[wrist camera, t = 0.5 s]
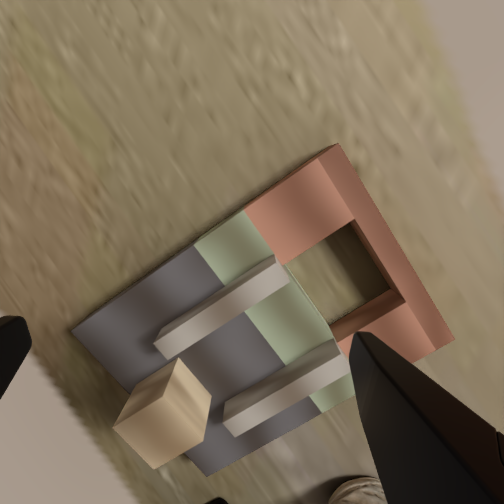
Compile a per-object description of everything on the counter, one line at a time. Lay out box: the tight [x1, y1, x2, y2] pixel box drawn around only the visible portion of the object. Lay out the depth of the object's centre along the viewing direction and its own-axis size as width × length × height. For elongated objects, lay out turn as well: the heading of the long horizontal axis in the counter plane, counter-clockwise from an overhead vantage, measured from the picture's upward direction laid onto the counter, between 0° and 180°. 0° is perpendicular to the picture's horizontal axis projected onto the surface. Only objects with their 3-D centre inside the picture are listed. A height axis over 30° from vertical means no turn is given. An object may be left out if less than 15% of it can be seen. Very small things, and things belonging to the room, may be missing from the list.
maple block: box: [113, 357, 212, 469], centre depth 21 cm, size 4×4×4 cm
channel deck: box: [71, 143, 455, 477], centre depth 22 cm, size 22×16×4 cm
